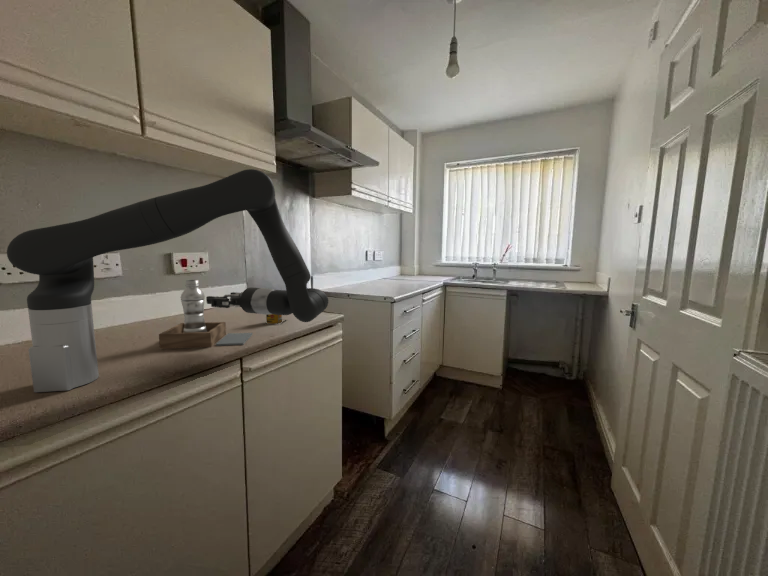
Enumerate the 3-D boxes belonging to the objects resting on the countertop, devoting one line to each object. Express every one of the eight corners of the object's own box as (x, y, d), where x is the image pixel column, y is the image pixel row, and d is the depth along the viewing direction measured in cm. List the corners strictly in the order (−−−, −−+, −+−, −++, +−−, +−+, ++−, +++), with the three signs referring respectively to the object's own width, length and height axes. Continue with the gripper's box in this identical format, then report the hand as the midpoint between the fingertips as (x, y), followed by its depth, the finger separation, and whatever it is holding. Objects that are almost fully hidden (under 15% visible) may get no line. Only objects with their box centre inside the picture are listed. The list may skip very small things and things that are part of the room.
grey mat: (243, 344, 94) (243, 342, 94) (215, 345, 92) (215, 343, 92) (252, 334, 105) (252, 332, 105) (228, 335, 104) (228, 333, 104)
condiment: (262, 324, 120) (261, 295, 118) (271, 319, 128) (270, 292, 127) (280, 325, 119) (279, 295, 118) (287, 320, 128) (287, 292, 126)
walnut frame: (211, 346, 91) (210, 332, 90) (159, 348, 88) (158, 334, 88) (226, 334, 104) (225, 322, 104) (182, 335, 102) (181, 323, 101)
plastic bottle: (212, 339, 98) (208, 280, 95) (190, 345, 92) (186, 281, 89) (200, 337, 101) (197, 278, 98) (179, 342, 95) (174, 280, 92)
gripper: (278, 285, 92) (237, 283, 97) (241, 291, 78) (197, 288, 84) (279, 309, 93) (239, 305, 98) (243, 319, 79) (199, 314, 85)
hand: (219, 297), depth 91 cm, fingers open, 8 cm apart
